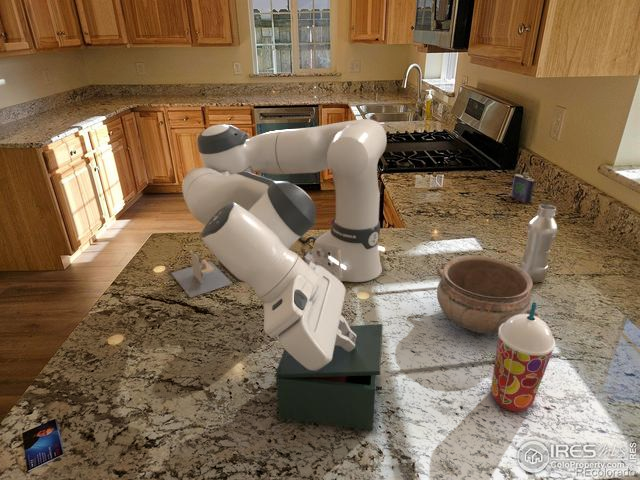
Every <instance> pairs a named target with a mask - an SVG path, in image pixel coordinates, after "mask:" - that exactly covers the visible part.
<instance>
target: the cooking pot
mask: <svg viewBox="0 0 640 480" xmlns="http://www.w3.org/2000/svg"><path fill="white" fill-rule="evenodd" d="M442 271H443V272H442ZM436 272H437V274H438V277H439V278H440V279H439V282H438V285H437V288H436V297H437V302H438V305H439V307H440V309H441V311H442V312H443V314H444V315H445V316H446V317H447V318H448V319H449V320H450V321H451V322H453V323H454V324H456V325H458V326H459V327H461V328H463V329H466V330H468V331H471V332H475V333H478V334H486V335H490V334H491V335H496V334H497V335H498V332H499V327H500V326H501V324H503V323H505V322H506V321H507V320H508V319H509V318H511V317H513V316H515V315H517V314H530V310H531V306H532V303H533V302H532V295H531V290H532V288H533V283H534V282H532V279H531V277H530V276H529V275H528V273H527V272H525V271H524V270H523V269H521V268H520V267H519V266H518V265H516V264H514V263H512V262H509V261H507V260H504V259H501V258H498V257H494V256H493V257H492V256H488V255H462V256H458V257H454V258H452V259H449V260H448V261H446V263H445V264H444V265H443V264H440V265H438V266H437V267H436ZM534 316H537V317H539V318H540V319H542V316H541V314H540V313H538V312H536V311H535V313H534Z"/></svg>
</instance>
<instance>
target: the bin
mask: <svg viewBox="0 0 640 480" xmlns="http://www.w3.org/2000/svg"><path fill="white" fill-rule="evenodd" d="M275 381H276V383H275V384H276V395H277V396H276V397H277V409H278V411H277V412H278V419H281V420H289V421H297V422H305V423H313V424H319V425H328V426H336V427H343V428H350V429H351V428H352V429H359V430H368V431H373V430H374V418H375V417H374V416H375V400H376V383H377V375H366V376H348V383H344V382H335V381H326V380H317V379H312V377H295V378H276V377H275Z"/></svg>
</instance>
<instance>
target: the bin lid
mask: <svg viewBox="0 0 640 480" xmlns="http://www.w3.org/2000/svg"><path fill="white" fill-rule="evenodd" d="M349 327H350V329H351V330H352V331H353V332H354V333H355V334H356V343H355V348H354V349H353V350H352V351H350V352H347V351H346V350H345V349H343V348H342V347H341V346H337V345H335V346H334V351H333V356H332V360H331V361H330V362H329V363H328V364H327V365H325V366H324V367H322V368H321V369H319V370H317V371H313V370H309V369H307V368H305V367H304V366H303V365H302V364H301V363H299V362H298V361H297V360H296V359H295V358H294V357H293V356H291V355H290V354H289V353H288V352H287V351H286V350H285V349H284V348H283V349H284V350H283V352H282V354H281V358H280V361H279V363H278V366H277V369H276V372H275V379H276V378H295V377H330V376H366V375H376V376H381V369H382V367H381V364H382V349H383V345H382V344H383V330H384V329H383V327H384V326H383V324H382V323H379V324H378V323H377V324H359V325H357V324H356V325H349Z"/></svg>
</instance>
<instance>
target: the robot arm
mask: <svg viewBox="0 0 640 480" xmlns="http://www.w3.org/2000/svg"><path fill="white" fill-rule="evenodd" d="M387 138H388V137H387V133H386V130H385V128H384V126H383V125H382V124H381V123H379V121H376V120H374V119H370V118H362V119H361V118H360V119H354V120H347V121H341V122H335V123H334V122H333V123H329V124H322V125H317V126H312V127H301V128H291V129H281V130H274V131H269V132H264V133H260V134H257V135H254V136H251V137H250V135H249V134H248V133H247V132H245V131H242V130H240V129H239V128H238V127H235V126H234V125H231V124H213V125H211V126H209V127H207V128H205V129H204V130H202V131H201V132H200V133H199V135H198V136H197V139H196V140H197V142H196V143H197V148H198V152H199V153H200V155H201V156H200V157H201V161H202V165H203V166H199V167H195V168H193V169H191V170H190V171H188V172H187V173H186V174H185V176H184V178H183V180H182V183H181V193H182V197H183V200H184V203H185V205H186V207H187V209H188V210H189V212H190V213H191V215H192V216H193V217H194V218H195V219H196V220H197V221H199V222H200V223H201V224H203V225H204V228H203V229H202V232H201V234H200V239H201V241H202V242H203V244H204V245H205V246H206V247H207V249H208V250H209V251H210V252H211V254H213V255H214V257H215V258H216V259H217V260H218V261H217V263H218V266H219V267H220V268H221V269H222V270H224V272H226V273H227V274H228V275H229V276H230V277H231V278H232V279H234V280H235V282H237V283H246V284H247V285H248V286H249V287H250V288H251V289H252V291H254V294H255V295H256V296H257V298H259V299H260V300H261V301H262V302H263V305H262V306H263V331H264V333H265V334H266V335H267V336H269V337H270V338H272V339H275V338H276V337H278V341H279V344H280V345H281V346H282V348H283V349H285V350H286V351H287V352H288V353H289V354H290V355H291V356H293V357H294V358H295V359H296V360H297V361H298V362H299V363H301V364H302V365H303V366H304V367H305V368H307V369H309V370H313V371H317V370H319V369H321V368H322V367H324V366H325V365H327V364H328V363H329V362H330V361H331V360H332V356H333V351H334V346H335V345H337V346H341V347H342V348H343V349H345V350H346V351H347V352H350V351H352V350H353V349H354V348H355V343H356V334H355V333H354V332H353V331H352V330H351V329H350V327H349V326H350V325H349V324H348V321H347V320H346V318H345V317H344V316H343V315H342V311H343V307H344V303H345V301H344V300H345V296H346V293H347V292H346V291H347V289H346V287H345V285H344V284H343V282H350V283H363V282H368V281H372V280H374V279H377V278H379V276H381V274H382V271H383V267H382V262H381V256H380V251H382V252H385V250H386V248H385V247H383V246H380V245H379V239H380V235H381V234H380V232H381V221H380V220H379V219H380V201H381V198H380V197H381V193H380V188H379V179H378V163H379V161H380V158H381V157H382V155H383V154H384V153H385V151H386V148H387V144H388V143H387V140H388V139H387ZM327 170H330V171H331V175H332V181H333V184H334V194H335V217H334V218H333V219H330V220H328V224H327V225H328V226H331V228H330V230H328V231H325V232H324V233H322V234H319V235H317V236H309V237H307V238H306V239H303V238H302V237H303V236H305V235H306V233H307V232H309V231H310V230H311V229H313V227H314V226H315V224H316V216H317V208H316V203H315V202H314V200H313V199H312V198H311V196H310V195H309V194H308V193H307V192H306V191H305V190H304V189H303V188H301V187H299V186H297V185H296V184H294V183H291V182H290V181H284V180H274V179H270V178H268V177H265V176H262V175H259V174H255V173H260V174H266V175H297V174H315V173H319V172H323V171H327ZM254 172H255V173H254ZM298 240H299V241H300V242H302V243H305V244H306V243H308V242H309V241H310V240H312V249H311V250H310V251H309V252H307V253H306V255H304V259H302V257H301V256H299V254H297V253H296V252H294V251H293V250H291V249H290V248H292V247H293V246H294V244H295V243H296V242H297V241H298Z"/></svg>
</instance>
